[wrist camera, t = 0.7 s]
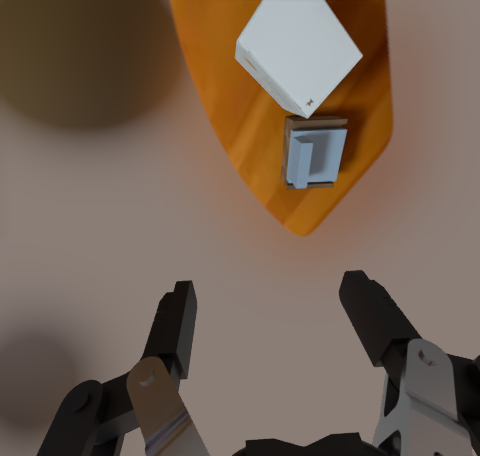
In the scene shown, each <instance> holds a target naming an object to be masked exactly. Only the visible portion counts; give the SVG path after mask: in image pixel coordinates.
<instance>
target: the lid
mask: <svg viewBox="0 0 480 456" xmlns="http://www.w3.org/2000/svg"><path fill="white" fill-rule="evenodd" d="M346 133H347V129H344V128H319V129H294V130H291V134H290V145H289V156H288V167H287V178H286V179H287V181H288V182H289V183H293V185H294V186H295V188H307V182H323V181H336V179H337V174H338V170H339V165H340V160H341V156H342V151H343V147H344V142H345V138H346Z"/></svg>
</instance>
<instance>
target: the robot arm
mask: <svg viewBox="0 0 480 456" xmlns="http://www.w3.org/2000/svg"><path fill="white" fill-rule="evenodd" d="M339 297H340V301H341V303H342V305H343V307H344V309H345V311H346V313H347V315H348V317H349V319H350V321H351V323H352V325H353V327H354V329H355V331H356V333H357V335H358V337H359V338H360V341H361V343H362V345H363V347H364V348H365V350H366V352H367V354H368V356H369V358H370V360H371V362H372V364H373V366H374V367H384V368H385V370H386V372H387V373H386V375H385V381H384V389H383V396H382V404H381V412H380V418H379V422H378V425H377V427H376V430H375V433H374V437H373V443H372V445H371V444H369V443H367V442H364V441H362V440H361V438H360V435H359V433H358V432H357V433H343V434H331V435H329V436H326V437H324V438H322V439H320V440H319V441H316V442H314V443H312V444H310V445H308V446H305V447H303V446H298V445H294V444H291V443H288V442H284V441H281V440H277V439H259V440H246V447H245V448H243V449H241V450H239V451H238V452H236V453H235V454H233V455H232V456H472V448H471V446H472V447H473V449H474V451H475V452H476V454H477V456H480V355H479V356H478V357H477V358H476V359H474V360H471V359H467V358H463V357H458V356H454V355H450V354H446V353H445V352H444V351H443V350H442V349H441V348H439V347H438V346H437V345H435V344H433V343H431V342H429V341H427V340H424V339H422V337H421V336H420V335H419V334H418V332H417V331H416V330H415V328H414V327H413V326H412V324H411V323H410V322H409V320H408V319H407V318H406V316H405V315H404V314H403V312H402V311H401V310H400V308H399V307H398V306H397V304H396V303H395V302H394V300H393V299H391V297H390V295H389V294H388V292H387V291H386V290H385V288H384V287H383V286H381V285H380V284H379V283H377V282H376V281H375V280H369V278H368V277H367V275H366V274H365V273H364V272H363V271H362V270H356V271H346V272H345V273H344V276H343V280H342V283H341V286H340V289H339ZM196 313H197V299H196V295H195V291H194V287H193V283H192V281H177V282H176V284H175V288H174V292H169V293H166V294H165V295H164V296H163V298H162V299H161V300H160V302H159V305H158V309H157V313H156V315H155V318H154V322H153V325H152V328H151V331H150V334H149V337H148V341H147V344H146V347H145V350H144V353H143V356H142V358H141V359H140V361H139V362H138V363H137V364H136V365H135V366H134V367H133V368H132V369H131V370H130V371H129V372H127V373H126V374H124V375H122V376H120V377H117V378H115V379H112V380H110V381H108V382H105V383H103V384H101V383H100V382H98V381H96V380H88V381H85V382H82V383H80V384H79V385H77V386H76V387H74V388H73V389H72V390H71V391H70V392H69V393H68V394H67V396H66V397H65V398H64V400H63V401H62V403H61V405H60V407H59V409H58V411H57V413H56V415H55V418H54V420H53V422H52V424H51V426H50V428H49V430H48V432H47V435H46V437H45V439H44V441H43V443H42V445H41V448H40V449H39V452H38V454H37V456H119V455H120V452H121V448H122V444H123V440H124V436H125V434H126V433H128V432H130V431H132V430H134V429H136V428H138V427H140V428H141V432H142V435H143V438H144V441H145V445H146V447H145V454H146V456H210V455H209V453H208V451H207V449H206V447H205V445H204V443H203V441H202V439H201V437H200V435H199V433H198V431H197V429H196V427H195V425H194V423H193V421H192V419H191V417H190V415H189V413H188V411H187V409H186V407H185V405H184V403H183V401H182V399H181V397H180V395H179V393H178V391H179V384H180V379H187V376H188V370H189V363H190V355H191V348H192V341H193V334H194V327H195V319H196Z"/></svg>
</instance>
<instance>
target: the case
mask: <svg viewBox="0 0 480 456" xmlns="http://www.w3.org/2000/svg"><path fill="white" fill-rule="evenodd" d="M347 121H348V119H345V118H341V117H338V116H334V115H323V116H310V117H309V118H305V117H303V116H297V117H286V118H285V131H284V144H283V157H282V171H281V179H282V181H283V182H284V184H285V186H286V188H287V189H303V188H295V186H294V185H293V183H289V182H288V181H287V179H286V178H287V167H288V156H289V145H290V134H291V130H294V129H319V128H342V124H347ZM333 185H334V183H333V182H332V181H323V182H307V188H325V187H333Z"/></svg>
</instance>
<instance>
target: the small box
mask: <svg viewBox="0 0 480 456" xmlns="http://www.w3.org/2000/svg"><path fill="white" fill-rule="evenodd" d="M362 57H363V54H362V53H361V51H360V50H359V48H358V47H357V45H356V44H355V42H354V41H353V39H352V38H351V37H350V35H349V34H348V32H347V31H346V29H345V28H344V26H343V25H342V24H341V22H340V21H339V19H338V18H337V17H336V15H335V14H334V12H333V11H332V9H331V8H330V6H329V5H328V3H327V2H326V1H325V0H262V2H261V3H260V5H259V6H258V8H257V10H256V11H255V13H254V14H253V16H252V17H251V19H250V20H249V22H248V24H247V25H246V27H245V28H244V30H243V32H242V33H241V35H240V36H239V38H238V39H237V45H236V54H235V59H236V60H237V61H238V62H239V63H240V64H241V65H242V66H243V67H244V68H245V69H246V70H247V71H248V72H249V73H250V74H251V75H252V76H253V77H254V79H255V80H256V81H257V82H258V83H259V84H260V85H261V86H262V87H263V88H264V89H265V90H266V91H267V92H268V93H269V94H270V95H271V96H272V97H273V98H274V99H275V100H276V101H277V102H278V104H279V105H280V106H281V107H282V108H283V109H285V110H287V111H290V112H292V113H295V114H297V115H300V116H303V117H305V118H309V117H310V116H311V115H312V113H313V112H314V111H315V110H316V109H317V108H318V107H319V105H320V104H321V103H322V102H323V101H324V100H325V99H326V97H327V96H328V95H329V94H330V93H331V92H332V91H333V90H334V88H335V87H336V86H337V85H338V84H339V83H340V82H341V81H342V79H343V78H344V77H345V76H346V75H347V74H348V73H349V72H350V70H351V69H352V68H353V67H354V66H355V65H356V64H357V62H358V61H359V60H360V59H361V58H362Z"/></svg>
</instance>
